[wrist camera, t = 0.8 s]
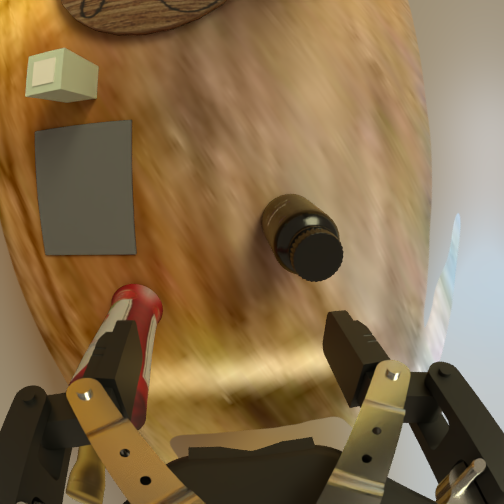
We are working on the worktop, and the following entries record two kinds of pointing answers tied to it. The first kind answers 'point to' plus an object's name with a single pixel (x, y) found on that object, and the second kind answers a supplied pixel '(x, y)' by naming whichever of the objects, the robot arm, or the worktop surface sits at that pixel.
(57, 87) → the block
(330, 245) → the supplement bottle
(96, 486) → the red sauce bottle
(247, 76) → the worktop surface
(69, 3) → the trivet
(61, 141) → the mat
